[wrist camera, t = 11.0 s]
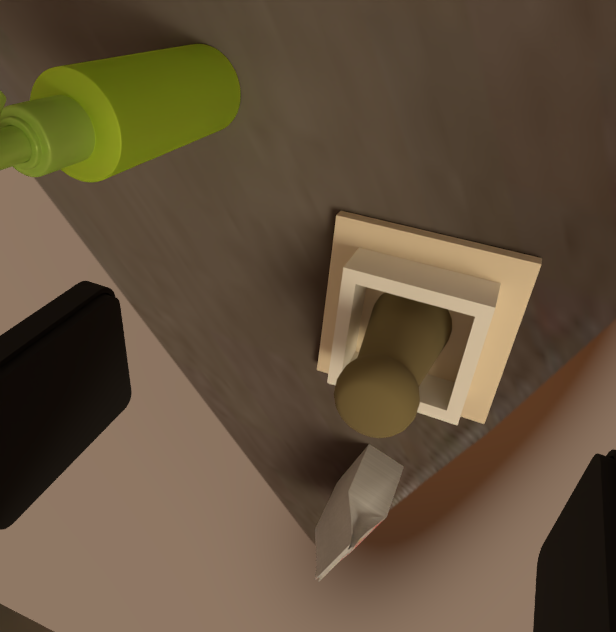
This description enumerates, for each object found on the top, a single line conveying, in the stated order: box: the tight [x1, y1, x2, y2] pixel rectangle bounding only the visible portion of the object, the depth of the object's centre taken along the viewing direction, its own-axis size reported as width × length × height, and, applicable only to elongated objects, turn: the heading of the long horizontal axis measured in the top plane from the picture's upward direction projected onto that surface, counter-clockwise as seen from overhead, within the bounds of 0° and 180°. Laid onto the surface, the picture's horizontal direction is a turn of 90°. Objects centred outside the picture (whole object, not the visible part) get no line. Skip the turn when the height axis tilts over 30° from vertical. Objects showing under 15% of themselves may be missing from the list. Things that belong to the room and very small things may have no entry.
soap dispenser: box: [0, 44, 241, 182], centre depth 31 cm, size 6×7×20 cm
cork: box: [334, 292, 452, 438], centre depth 37 cm, size 6×6×11 cm
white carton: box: [315, 444, 403, 581], centre depth 48 cm, size 4×7×10 cm, turn 154°
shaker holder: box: [317, 211, 542, 425], centre depth 40 cm, size 14×14×4 cm
